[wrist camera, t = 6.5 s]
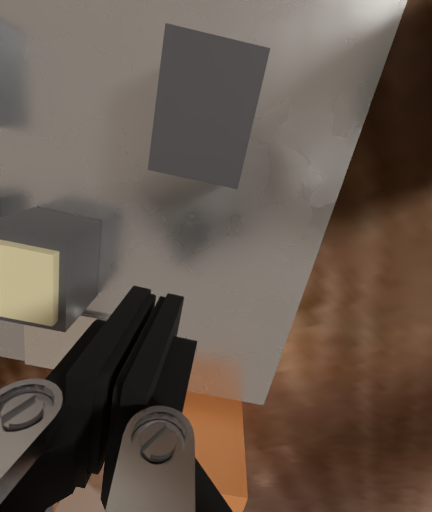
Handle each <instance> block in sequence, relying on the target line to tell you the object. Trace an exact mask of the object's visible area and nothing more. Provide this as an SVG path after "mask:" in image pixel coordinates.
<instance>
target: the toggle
mask: <svg viewBox="0 0 432 512" xmlns="http://www.w3.org/2000/svg"><path fill="white" fill-rule="evenodd" d="M269 52H270V48H267V47H263V46H259V45H255V44H251V43H247V42H243V41H238V40H234V39H230V38H226V37H222V36H218V35H214V34H209V33H205V32H201V31H197V30H193V29H189V28H185V27H180V26H176V25H172V24H168V23H165V30H164V38H163V47H162V55H161V63H160V71H159V80H158V88H157V96H156V104H155V113H154V121H153V129H152V138H151V146H150V154H149V162H148V170H151V171H155V172H160V173H164V174H169V175H174V176H178V177H183V178H187V179H192V180H196V181H201V182H206V183H210V184H215V185H219V186H224V187H229V188H233V189H238V186H239V181H240V177H241V173H242V168H243V164H244V160H245V155H246V151H247V147H248V142H249V138H250V134H251V130H252V125H253V121H254V117H255V112H256V108H257V104H258V99H259V95H260V91H261V86H262V82H263V78H264V74H265V69H266V65H267V61H268V56H269Z"/></svg>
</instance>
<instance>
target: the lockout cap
mask: <svg viewBox="0 0 432 512" xmlns="http://www.w3.org/2000/svg"><path fill="white" fill-rule="evenodd" d="M182 414H183V415H184V416H185V417H186V418H187V419H188V420H189V422H190V423H191V425H192V427H193V431H194V437H195V458H196V459H197V460H198V462H199V463H200V465H201V466H202V468H203V469H204V471H205V472H206V473H207V475H208V476H209V478H210V479H211V481H212V482H213V484H214V485H215V486H216V488H217V489H218V491H219V492H220V494H221V495H222V497H223V498H224V499H225V501H226V502H227V504H228V505H229V507H230V508H231V510H232V511H233V512H243V510H244V507H245V505H246V502H247V500H248V491H247V476H246V460H245V445H244V429H243V414H242V401H238V400H233V399H227V398H222V397H216V396H211V395H206V394H200V393H195V392H189V391H187V393H186V398H185V403H184V407H183V412H182Z"/></svg>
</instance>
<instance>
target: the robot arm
mask: <svg viewBox="0 0 432 512" xmlns="http://www.w3.org/2000/svg"><path fill="white" fill-rule="evenodd" d="M155 301H156V295H154V294H151V289H148V288H143V287H139V286H133V287H132V288H131V289H130V291H129V292H128V293H127V295H126V296H125V297H124V299H123V300H122V301H121V302H120V304H119V305H118V306H117V308H116V309H115V310H114V312H113V313H112V314H111V316H110V317H109V318H108V320H107V321H105V320H100V319H97V320H95V321H94V322H93V323H92V324H91V325H90V326H89V328H88V329H87V330H86V331H85V332H84V334H83V335H82V336H81V337H80V338H79V339H78V341H77V342H76V343H75V344H74V345H73V347H72V348H71V349H70V350H69V351H68V353H67V354H66V355H65V356H64V357H63V359H62V360H61V361H60V362H59V363H58V365H57V366H56V367H55V368H54V369H53V371H52V372H51V373H50V374H49V375H48V377H47V378H46V379H45V380H44V379H25V380H21V381H17V382H14V383H11V384H9V385H7V386H4V387H3V388H1V389H0V512H55V510H56V508H57V506H58V503H59V501H60V500H62V499H64V498H66V497H67V496H69V495H70V494H72V493H73V491H74V489H75V487H81V488H85V487H86V484H87V482H88V480H89V478H90V475H91V473H93V474H99V472H100V471H101V468H102V466H103V464H104V461H105V464H104V474H103V483H102V493H101V501H102V504H103V506H104V509H105V512H233V511H232V510H231V508H230V507H229V505H228V504H227V502H226V501H225V499H224V498H223V497H222V495H221V494H220V492H219V491H218V489H217V488H216V486H215V485H214V484H213V482H212V481H211V479H210V478H209V476H208V475H207V473H206V472H205V471H204V469H203V468H202V466H201V465H200V463H199V462H198V460H197V459H196V458H195V437H194V431H193V427H192V425H191V423H190V422H189V420H188V419H187V418H186V417H185V416H184V415H183V414H182V412H183V407H184V403H185V398H186V393H187V389H188V384H189V379H190V374H191V370H192V365H193V360H194V355H195V351H196V346H197V341H195V340H190V339H186V338H181V337H177V333H178V328H179V323H180V317H181V312H182V307H183V302H184V296H179V295H175V294H170V293H168V294H167V295H166V297H163V296H160V297H159V299H158V301H157V303H156V305H155Z"/></svg>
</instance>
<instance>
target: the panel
mask: <svg viewBox="0 0 432 512" xmlns="http://www.w3.org/2000/svg"><path fill="white" fill-rule="evenodd" d="M406 3H407V0H0V217H3V216H7V215H10V214H13V213H16V212H20V211H23V210H26V209H29V208H32V207H39V208H44V209H49V210H53V211H58V212H63V213H68V214H73V215H77V216H82V217H87V218H92V219H97V220H101V221H102V222H101V236H100V250H99V264H98V278H97V292H96V298H95V299H94V300H93V301H92V302H91V303H90V305H89V306H88V307H87V308H86V309H85V310H84V311H83V313H82V314H81V315H80V316H79V317H78V318H77V320H76V321H75V322H74V323H73V324H72V325H71V326H70V328H69V329H68V330H67V331H66V332H60V331H55V330H50V329H44V328H39V327H34V326H29V325H23V324H18V323H13V322H8V321H2V320H0V357H6V358H11V359H17V360H22V361H25V364H27V365H33V366H38V367H44V368H49V369H54V368H55V367H56V366H57V365H58V363H59V362H60V361H61V360H62V359H63V357H64V356H65V355H66V354H67V353H68V351H69V350H70V349H71V348H72V347H73V345H74V344H75V343H76V342H77V341H78V339H79V338H80V337H81V336H82V335H83V334H84V332H85V331H86V330H87V329H88V328H89V326H90V325H91V324H92V323H93V322H94V321H95V320H97V319H100V320H105V321H107V320H108V318H109V317H110V316H111V314H112V313H113V312H114V310H115V309H116V308H117V306H118V305H119V304H120V302H121V301H122V300H123V299H124V297H125V296H126V295H127V293H128V292H129V291H130V289H131V288H132V287H133V286H139V287H143V288H148V289H151V294H154V295H156V301H155V305H156V303H157V301H158V299H159V297H160V296H163V297H166V295H167V294H168V293H170V294H175V295H179V296H184V302H183V307H182V312H181V317H180V323H179V328H178V333H177V337H181V338H186V339H190V340H195V341H197V346H196V351H195V355H194V360H193V365H192V370H191V374H190V379H189V384H188V389H187V391H189V392H195V393H200V394H206V395H211V396H216V397H222V398H227V399H233V400H238V401H243V402H249V403H254V404H260V405H264V402H265V399H266V397H267V394H268V391H269V388H270V385H271V383H272V380H273V377H274V374H275V371H276V369H277V366H278V363H279V360H280V357H281V354H282V352H283V349H284V346H285V343H286V340H287V338H288V335H289V332H290V329H291V326H292V324H293V321H294V318H295V315H296V312H297V310H298V307H299V304H300V301H301V298H302V295H303V293H304V290H305V287H306V284H307V281H308V279H309V276H310V273H311V270H312V267H313V265H314V262H315V259H316V256H317V253H318V250H319V248H320V245H321V242H322V239H323V236H324V234H325V231H326V228H327V225H328V222H329V220H330V217H331V214H332V211H333V208H334V205H335V203H336V200H337V197H338V194H339V191H340V189H341V186H342V183H343V180H344V177H345V175H346V172H347V169H348V166H349V163H350V161H351V158H352V155H353V152H354V149H355V146H356V144H357V141H358V138H359V135H360V132H361V130H362V127H363V124H364V121H365V118H366V116H367V113H368V110H369V107H370V104H371V101H372V99H373V96H374V93H375V90H376V87H377V85H378V82H379V79H380V76H381V73H382V71H383V68H384V65H385V62H386V59H387V56H388V54H389V51H390V48H391V45H392V42H393V40H394V37H395V34H396V31H397V28H398V26H399V23H400V20H401V17H402V14H403V11H404V9H405V6H406ZM165 23H168V24H172V25H176V26H180V27H185V28H189V29H193V30H197V31H201V32H205V33H209V34H214V35H218V36H222V37H226V38H230V39H234V40H238V41H243V42H247V43H251V44H255V45H259V46H263V47H267V48H270V52H269V56H268V61H267V65H266V69H265V74H264V78H263V82H262V86H261V91H260V95H259V99H258V104H257V108H256V112H255V117H254V121H253V125H252V130H251V134H250V138H249V142H248V147H247V151H246V155H245V160H244V164H243V168H242V173H241V177H240V181H239V186H238V189H233V188H229V187H224V186H219V185H215V184H210V183H206V182H201V181H196V180H192V179H187V178H183V177H178V176H174V175H169V174H164V173H160V172H155V171H151V170H148V162H149V154H150V146H151V138H152V129H153V121H154V113H155V104H156V96H157V88H158V80H159V71H160V63H161V55H162V47H163V38H164V30H165Z"/></svg>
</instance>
